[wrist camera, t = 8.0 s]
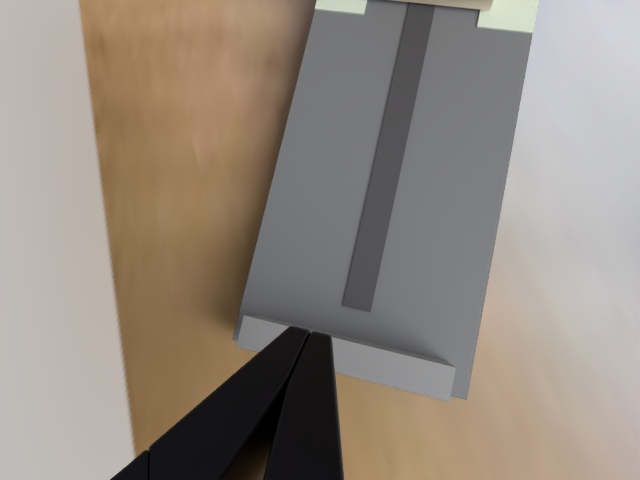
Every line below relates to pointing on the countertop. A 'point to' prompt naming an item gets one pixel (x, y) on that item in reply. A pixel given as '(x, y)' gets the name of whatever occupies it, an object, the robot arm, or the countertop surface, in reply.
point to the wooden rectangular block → (457, 3)
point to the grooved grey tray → (391, 188)
